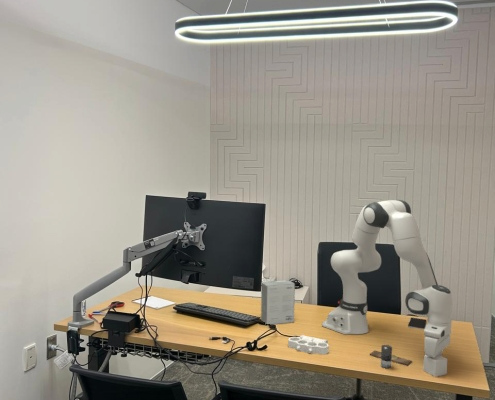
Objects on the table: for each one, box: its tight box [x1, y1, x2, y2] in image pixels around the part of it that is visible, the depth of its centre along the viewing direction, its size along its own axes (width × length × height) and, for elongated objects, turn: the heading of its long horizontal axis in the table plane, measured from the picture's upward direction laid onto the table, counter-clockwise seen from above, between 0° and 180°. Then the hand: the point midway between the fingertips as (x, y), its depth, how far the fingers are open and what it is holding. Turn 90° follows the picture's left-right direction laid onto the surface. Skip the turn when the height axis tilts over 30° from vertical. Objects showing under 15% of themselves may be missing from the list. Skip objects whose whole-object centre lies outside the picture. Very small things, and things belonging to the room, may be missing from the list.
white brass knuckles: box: [287, 334, 330, 355], centre depth 205 cm, size 3×18×15 cm
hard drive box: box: [260, 279, 296, 325], centre depth 239 cm, size 16×8×20 cm, turn 108°
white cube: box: [422, 355, 448, 378], centre depth 182 cm, size 6×6×6 cm
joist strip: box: [369, 350, 413, 367], centre depth 195 cm, size 16×6×1 cm, turn 50°
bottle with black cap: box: [380, 344, 393, 370], centre depth 187 cm, size 4×4×8 cm
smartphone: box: [407, 317, 427, 331], centre depth 240 cm, size 8×1×15 cm
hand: (437, 361), depth 188 cm, fingers closed
